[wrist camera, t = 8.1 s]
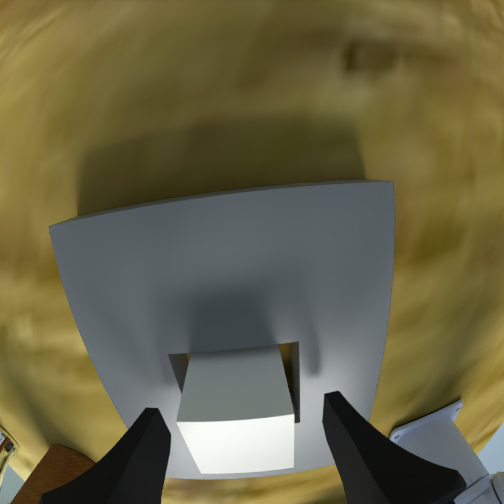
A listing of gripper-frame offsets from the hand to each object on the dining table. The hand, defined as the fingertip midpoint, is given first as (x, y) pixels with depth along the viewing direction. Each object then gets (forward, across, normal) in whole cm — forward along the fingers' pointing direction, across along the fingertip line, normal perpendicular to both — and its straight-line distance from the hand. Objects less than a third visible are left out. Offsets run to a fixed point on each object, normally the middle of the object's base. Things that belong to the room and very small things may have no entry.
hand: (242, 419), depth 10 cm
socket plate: (+4, 0, 0) cm, 4 cm away
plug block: (+4, 0, 0) cm, 4 cm away
